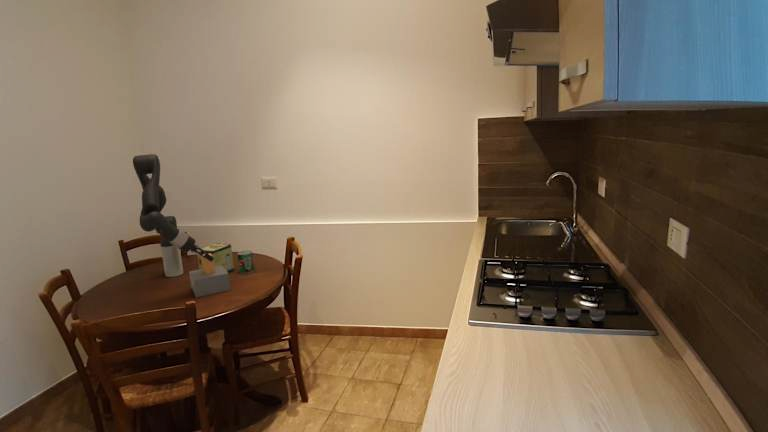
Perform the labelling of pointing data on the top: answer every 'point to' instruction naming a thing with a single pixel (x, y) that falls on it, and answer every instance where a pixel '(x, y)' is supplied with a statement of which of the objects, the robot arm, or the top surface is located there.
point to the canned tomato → (245, 262)
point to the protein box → (220, 256)
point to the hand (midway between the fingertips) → (209, 258)
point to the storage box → (209, 281)
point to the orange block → (207, 265)
